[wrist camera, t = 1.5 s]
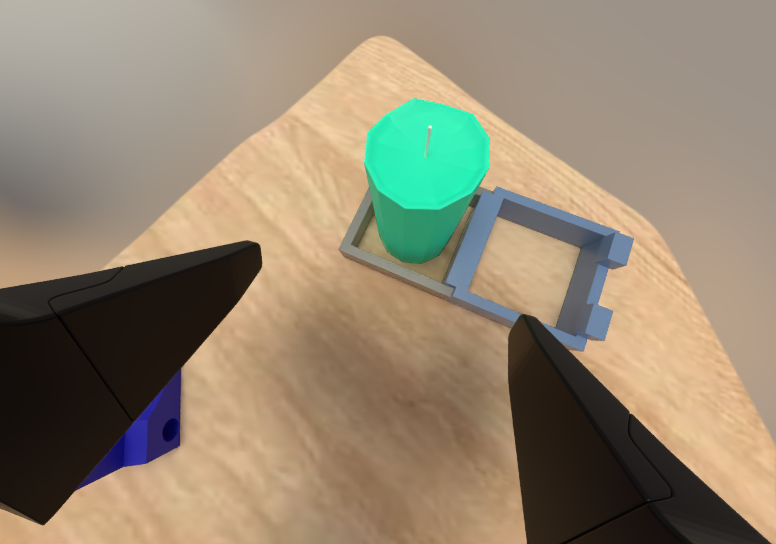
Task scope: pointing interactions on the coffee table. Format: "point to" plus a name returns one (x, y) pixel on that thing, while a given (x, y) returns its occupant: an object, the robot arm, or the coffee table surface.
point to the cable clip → (146, 434)
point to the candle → (423, 175)
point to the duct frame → (586, 285)
